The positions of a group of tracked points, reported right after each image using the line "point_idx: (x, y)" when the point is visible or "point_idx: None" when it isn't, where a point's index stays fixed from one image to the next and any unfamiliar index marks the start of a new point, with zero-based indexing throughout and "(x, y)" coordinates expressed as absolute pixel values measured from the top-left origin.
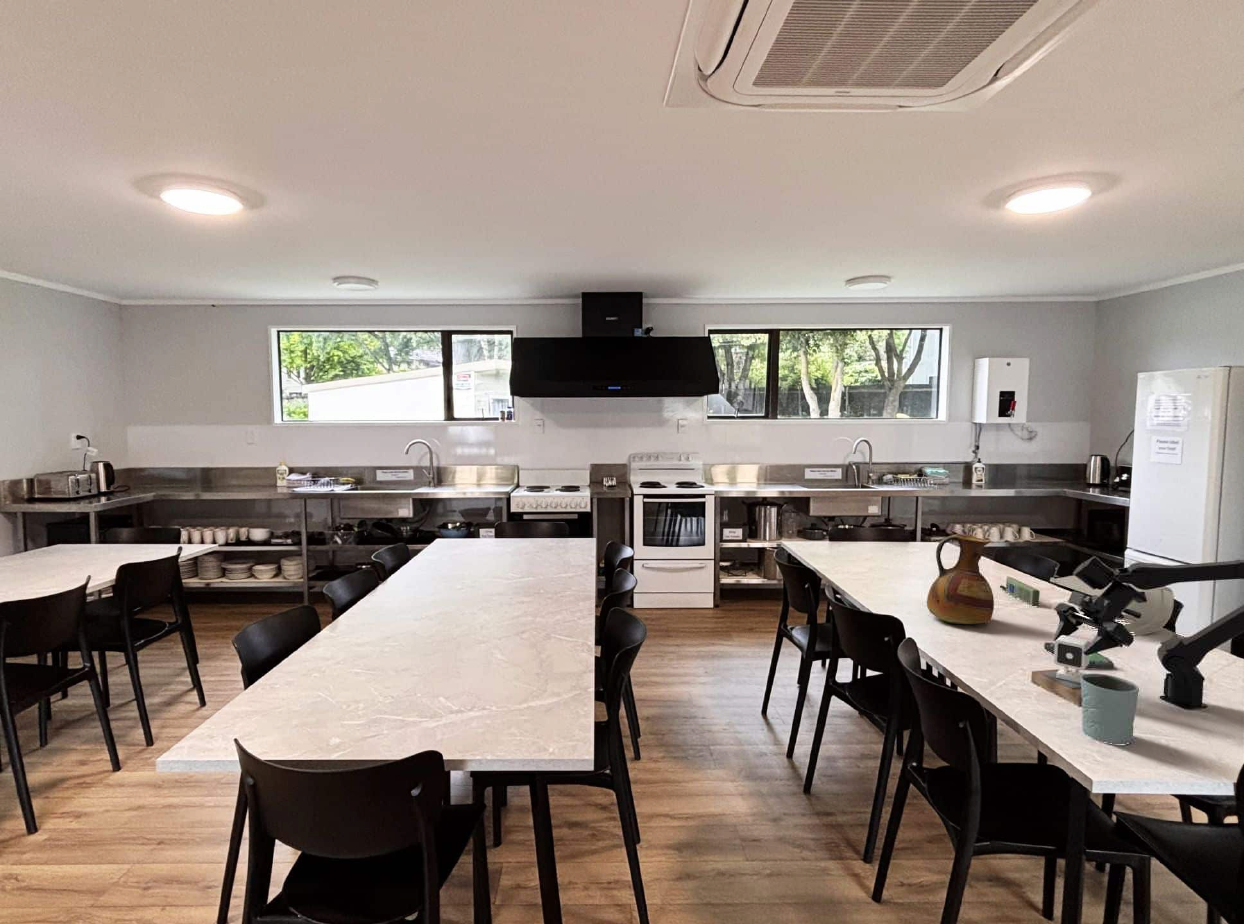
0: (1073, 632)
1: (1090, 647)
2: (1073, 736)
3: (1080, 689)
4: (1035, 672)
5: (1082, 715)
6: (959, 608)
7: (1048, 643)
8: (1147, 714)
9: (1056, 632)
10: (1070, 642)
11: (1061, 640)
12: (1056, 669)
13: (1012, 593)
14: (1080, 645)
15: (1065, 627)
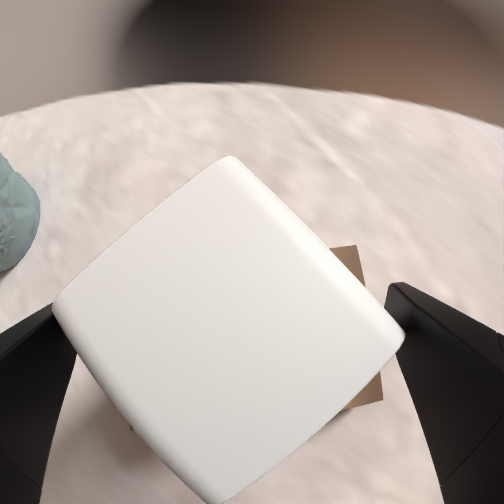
0: (441, 490)
1: (17, 326)
2: (28, 156)
3: None
4: (344, 252)
5: (16, 172)
6: None
7: None
8: (74, 456)
9: (452, 310)
10: (131, 228)
11: (196, 180)
12: (379, 374)
13: None
14: (71, 285)
15: (479, 409)
